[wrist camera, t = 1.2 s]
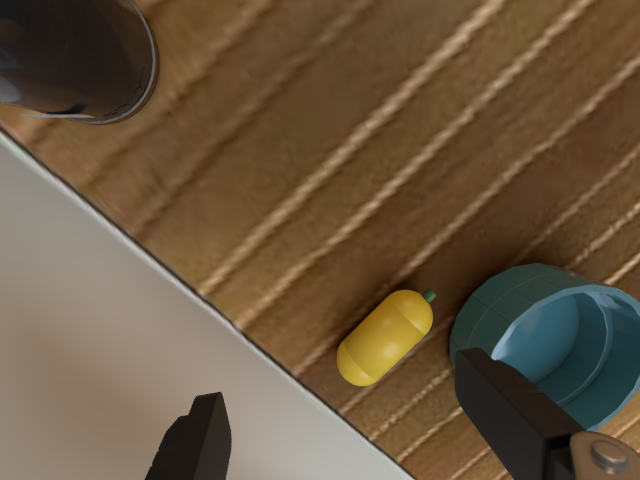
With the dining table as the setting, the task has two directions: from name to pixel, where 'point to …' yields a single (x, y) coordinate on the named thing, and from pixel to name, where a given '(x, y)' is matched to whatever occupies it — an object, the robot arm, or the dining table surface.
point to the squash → (385, 336)
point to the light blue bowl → (558, 337)
